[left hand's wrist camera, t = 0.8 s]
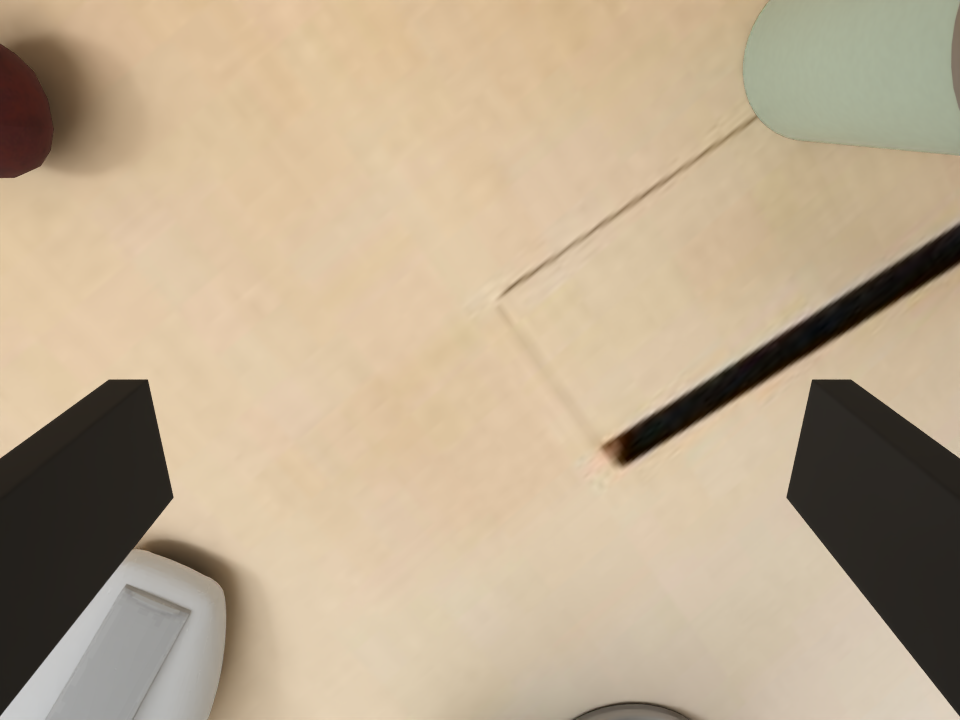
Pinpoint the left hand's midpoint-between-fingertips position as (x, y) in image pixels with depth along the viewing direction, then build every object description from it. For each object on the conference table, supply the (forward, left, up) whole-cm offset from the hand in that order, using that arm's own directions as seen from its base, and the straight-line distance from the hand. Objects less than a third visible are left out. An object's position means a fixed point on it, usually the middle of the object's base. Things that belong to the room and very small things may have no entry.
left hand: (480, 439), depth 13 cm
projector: (-35, +29, -28) cm, 53 cm away
